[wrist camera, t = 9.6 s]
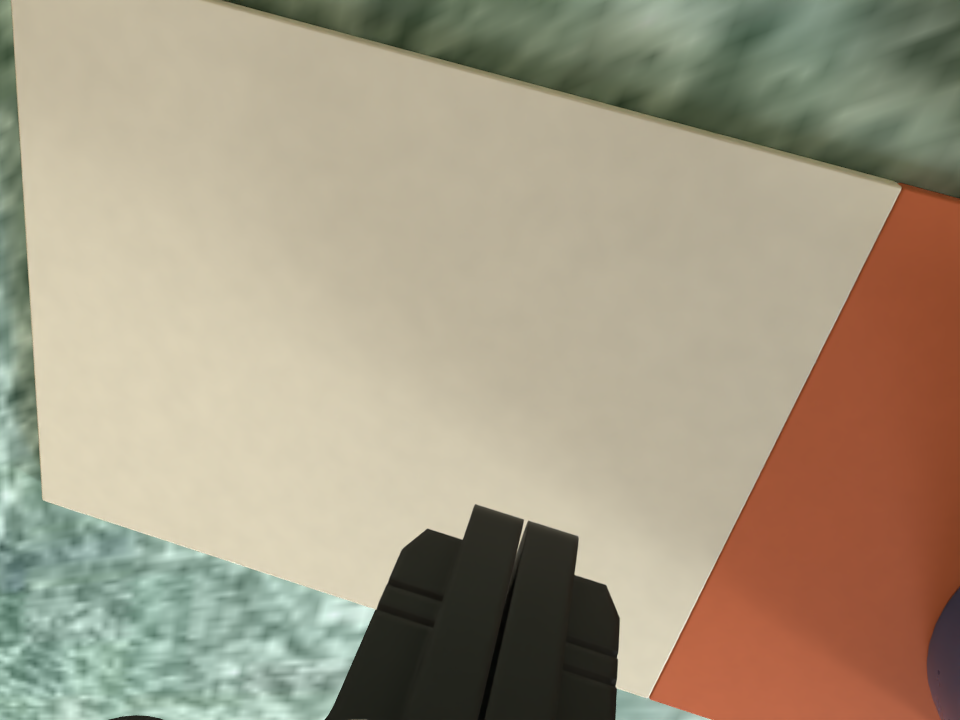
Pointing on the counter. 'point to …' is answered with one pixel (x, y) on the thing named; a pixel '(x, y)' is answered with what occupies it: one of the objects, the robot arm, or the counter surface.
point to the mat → (493, 343)
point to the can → (946, 661)
